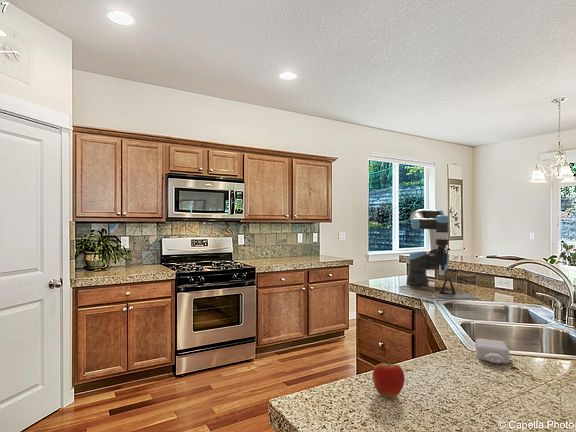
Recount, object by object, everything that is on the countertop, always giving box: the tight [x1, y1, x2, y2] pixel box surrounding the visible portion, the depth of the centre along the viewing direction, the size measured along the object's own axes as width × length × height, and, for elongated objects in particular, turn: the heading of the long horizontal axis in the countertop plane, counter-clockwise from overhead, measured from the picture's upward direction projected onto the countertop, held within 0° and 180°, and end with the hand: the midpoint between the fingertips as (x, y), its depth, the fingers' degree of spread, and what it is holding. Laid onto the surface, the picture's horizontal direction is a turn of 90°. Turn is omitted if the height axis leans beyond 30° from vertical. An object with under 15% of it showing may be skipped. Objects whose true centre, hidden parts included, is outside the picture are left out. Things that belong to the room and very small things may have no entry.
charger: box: [475, 338, 510, 364], centre depth 123 cm, size 5×9×15 cm
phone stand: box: [439, 273, 457, 294], centre depth 233 cm, size 9×6×12 cm, turn 65°
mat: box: [433, 293, 480, 300], centre depth 223 cm, size 12×22×1 cm, turn 93°
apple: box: [372, 356, 405, 399], centre depth 98 cm, size 8×8×10 cm
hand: (441, 274), depth 242 cm, fingers closed
